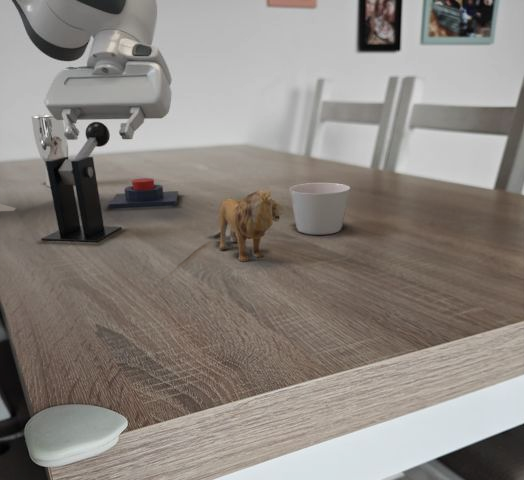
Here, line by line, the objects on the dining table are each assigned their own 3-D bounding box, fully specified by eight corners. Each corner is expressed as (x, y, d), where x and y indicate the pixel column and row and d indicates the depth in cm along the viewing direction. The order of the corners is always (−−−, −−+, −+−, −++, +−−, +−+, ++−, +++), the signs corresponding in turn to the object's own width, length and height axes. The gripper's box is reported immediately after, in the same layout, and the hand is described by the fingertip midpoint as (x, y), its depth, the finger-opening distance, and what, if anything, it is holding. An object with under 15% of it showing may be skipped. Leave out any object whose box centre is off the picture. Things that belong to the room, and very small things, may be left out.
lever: (95, 138, 88) (87, 117, 86) (116, 138, 88) (108, 117, 85) (61, 188, 80) (51, 166, 78) (84, 188, 80) (74, 166, 77)
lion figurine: (289, 260, 72) (288, 189, 68) (255, 268, 69) (252, 195, 65) (229, 238, 83) (225, 175, 79) (198, 244, 80) (193, 180, 76)
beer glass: (53, 188, 125) (39, 117, 118) (38, 185, 129) (24, 116, 122) (81, 184, 129) (69, 114, 123) (65, 181, 134) (53, 114, 127)
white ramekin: (338, 221, 90) (339, 181, 87) (356, 235, 82) (358, 191, 79) (284, 225, 89) (284, 184, 86) (297, 239, 81) (297, 195, 78)
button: (131, 192, 102) (130, 182, 101) (134, 188, 105) (133, 178, 104) (153, 191, 102) (152, 181, 101) (155, 187, 105) (154, 177, 105)
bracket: (71, 232, 88) (56, 155, 83) (122, 234, 86) (111, 155, 81) (42, 246, 81) (24, 162, 76) (98, 248, 79) (83, 163, 74)
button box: (109, 213, 100) (106, 194, 98) (118, 202, 109) (115, 184, 107) (176, 210, 101) (174, 190, 99) (179, 199, 110) (177, 181, 108)
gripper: (49, 53, 89) (26, 123, 85) (168, 47, 84) (150, 121, 80) (69, 83, 95) (48, 150, 91) (181, 79, 90) (165, 150, 86)
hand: (97, 137), depth 85 cm, fingers open, 8 cm apart
